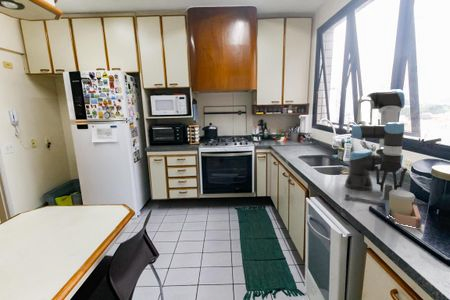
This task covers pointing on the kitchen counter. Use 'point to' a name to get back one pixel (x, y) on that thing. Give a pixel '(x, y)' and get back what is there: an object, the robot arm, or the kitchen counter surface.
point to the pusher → (386, 197)
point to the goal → (410, 218)
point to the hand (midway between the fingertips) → (387, 198)
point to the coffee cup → (400, 202)
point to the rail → (363, 200)
